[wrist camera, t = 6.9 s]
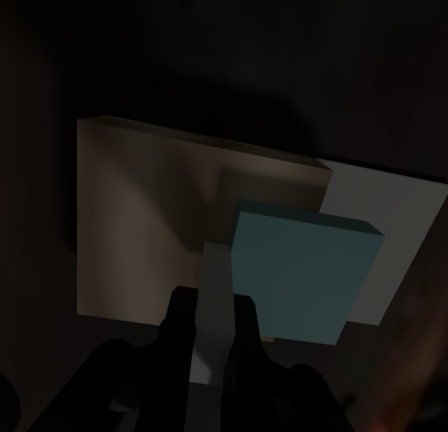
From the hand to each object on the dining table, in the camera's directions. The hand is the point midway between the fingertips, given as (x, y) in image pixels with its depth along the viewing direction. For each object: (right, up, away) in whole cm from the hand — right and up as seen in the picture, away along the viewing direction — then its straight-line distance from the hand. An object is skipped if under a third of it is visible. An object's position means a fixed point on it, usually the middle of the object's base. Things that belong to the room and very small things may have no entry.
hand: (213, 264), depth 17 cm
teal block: (+5, 0, +2) cm, 5 cm away
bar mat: (+11, 0, +6) cm, 12 cm away
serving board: (-1, +2, +5) cm, 6 cm away
